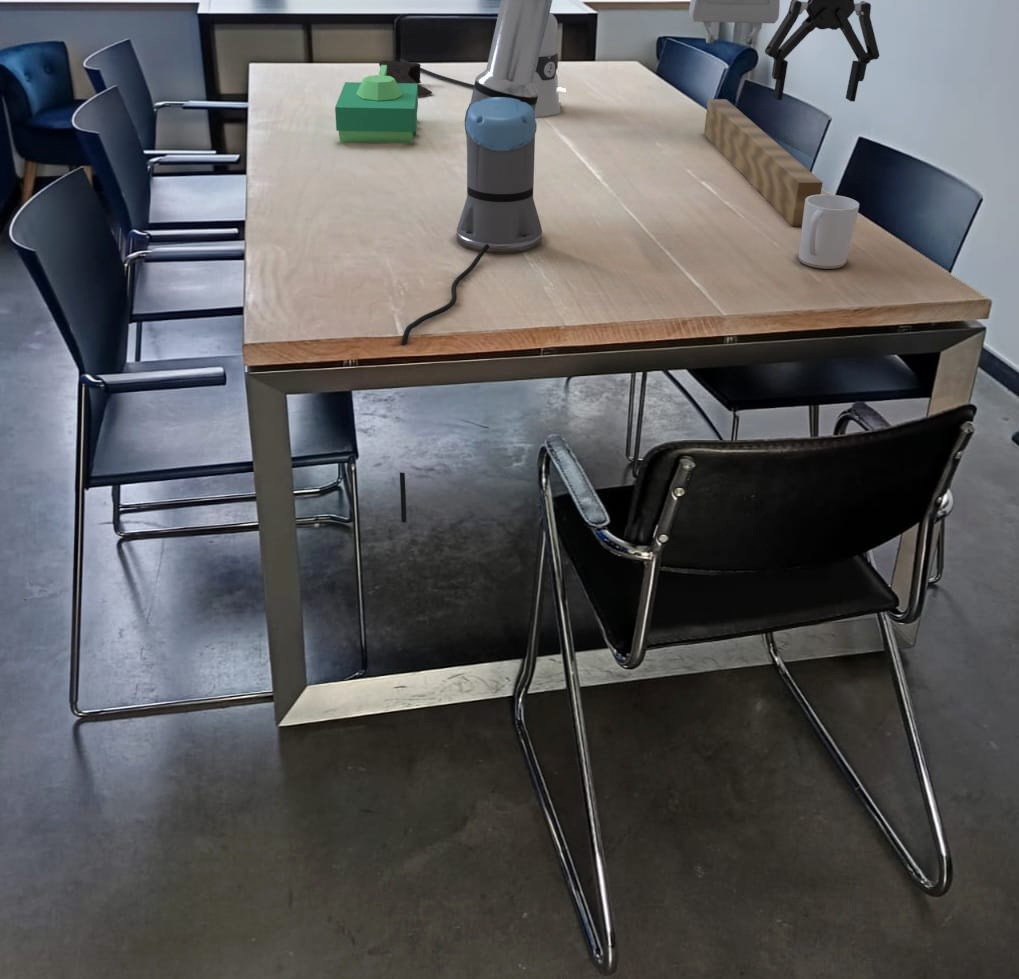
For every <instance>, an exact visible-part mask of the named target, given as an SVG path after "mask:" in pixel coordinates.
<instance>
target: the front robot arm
mask: <svg viewBox="0 0 1019 979" xmlns="http://www.w3.org/2000/svg"><path fill="white" fill-rule="evenodd" d="M552 3H553V0H501V1H500V4H499V8H498V14H497V19H496V23H495V27H494V32H493V37H492V41H491V46H490V50H489V55H488V60H487V64H486V69H485V70H484V71H483V72H481V73H479V74H478V75H476V76H475V79H474V80H475V81H474V84H473V85H474V88H472V94H471V99H470V102H469V104H468V107H467V108H466V111H465V116H464V131H465V136H466V192H467V193H466V198H465V202H464V205H463V209H462V211H461V214H460V218H459V220H458V224H457V227H456V241H457V243H458V244H459V245H461V246H462V247H464V248H466V249H468V250H470V251H475V252H478V253H477V255H476V256H475V258H474V259H473V261H472V262H471V264H469V266H468V267H467V268H466V269H465V270H464V271H463V272H461V273H460V274H459V275H458V276H457V277H456V278H455V279H454V281H453V282H452V284H451V289H450V291H451V299H450V301H449V302H447V303H446V304H445V305H443V306H441V307H439V308H438V309H434V310H433V311H430V312H428V313H425V314H424V315H422V316H420V317H418V318H417V319H415V320H414V321H413V322H411V323H409V324H408V325H407V326H406V327H405V329H404V330H403V331H404V332H403V335H402V337H401V342H400V345H401V346H406V345H407V343H408V339H409V336H410V334H411V331H412V330H413V329H414V328H417V327H418V326H419V325H421V324H423V323H424V322H425V321H427V320H429V319H432V318H434V317H436V316H439V315H441V314H443V313H445V312H447V311H448V310H450V309H451V308H452V307H453V306H454V305H455V303H456V302H457V299H458V298H457V295H458V294H457V287H458V285H459V283H460V282H461V281H462V280H464V278H465V277H467V276H468V275H469V274H470V273H471V272H472V271H473V270H474V268H476V266H477V265H478V263H479V262H480V260H481V259H482V257H483V256H484V255H485V253H486V254H497V255H499V254H500V255H506V254H507V255H508V254H517V253H524V252H527V251H530V250H533V249H536V248H538V247H539V246H540V245H541V244H542V243H543V229H542V224H541V221H540V220H541V219H540V218H539V214H538V213H539V212H538V210H537V206H536V204H535V199H534V183H535V181H534V180H535V148H536V147H535V146H536V133H537V128H538V127H537V121H536V117H535V108H536V103H537V99H538V95H539V92H538V91H537V89H536V87H535V85H534V83H533V79H534V75H535V71H536V67H537V63H538V59H539V54H540V50H541V46H542V42H543V38H544V33H545V29H546V25H547V21H548V17H549V13H551V9H552ZM871 9H872V5H871V3H870V2H867V1H864V0H861V1H860V2H857V3H855V0H807V1H801V0H791V1H790V4H789V7H788V10H787V13H786V15H785V16H784V18H783V20H782V21H781V23H780V24H779V26H778V28H777V29H776V31H775V32H774V34H773V36H772V38H771V39H770V41H769V42H768V44H767V45H766V47H765V49H764V54H766V55H767V56H768V57H771V59H773V65H772V71H771V78H772V79H773V80H775V84H774V90H773V98H775V100H776V101H782V100H783V95H784V88H785V83H786V77H787V70H788V65H789V62H788V60H786V58H787V57H788V56H789V55H790V54H791V53H792V51H793V50H794V49H796V47H798V45H799V44H800V43H802V41H803V40H804V39H805V38H806V37H807V36H808V35H809V34H810V33H811V32H813V31H814V30H815V29H816V28H817V29H818V30H827V29H830V30H832V31H833V30H834V31H837V30H838V29H840V31H841V33H842V34H843V35H844V37H845V39H846V41H847V43H848V45H849V46H850V48H851V50H852V52H853V53H854V55H855V57H856V59H857V60H852V62H851V67H850V73H849V78H848V83H847V89H846V95H845V99H846V100H848V101H849V102H854V103H855V102H856V97H857V92H858V88H859V83H860V82H863V81H864V80H865V76H866V70H867V66H868V64H870V63H871V61H873V60H879V58H880V51H879V48H878V43H877V40H876V39H877V38H876V35H875V31H874V26H873V23H872V19H871ZM804 11H806V13H807V15H808V16H807V17H806V18H805V19H804V20H803V21H802V22H801V24H800V26H799V27H798V28H797V29H795V31H794V32H793V33H792V34H791V35H790V36H789V37H788V35H789V32H791V30H792V28H793V26H794V25H795V23H796V22H797V20H798V18H799V16H800V15H802V14H803V13H804ZM853 13H855V15H856V16H858V21H859V25H860V30H861V33H862V37H863V42H864V45H865V48H864V47H863V45H862V43H861V41H860V40H859V38H858V36H857V34H856V32H855V31H854V29H853V26H852V24H851V22H850V20H849V18H850V17H851V15H853ZM786 37H788V38H787V39H786ZM783 42H784V43H783ZM865 49H866V50H865ZM399 490H400V518H401V519H400V521H401V523H403V524H404V523H407V496H406V495H407V494H406V493H407V492H406V473H405V472H401V471H399Z"/></svg>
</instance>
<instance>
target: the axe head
mask: <svg viewBox="0 0 1019 979" xmlns="http://www.w3.org/2000/svg"><path fill="white" fill-rule="evenodd" d="M381 65H387V73H386V76H391V77H392V78H394V79H395V81H396V82H397V83H416V84H418V98H419V97H425V96H429V95H432V94H433V91H431V90H430V89H428V88H427V87H425V86H422V85H421V84H422V82H421V71H420V68H421V63H419V62H410V61H408V62H401V61H400V60H399V61H397V60H388V59H387V60H380V61H379V62H378V66H379V69H380V68H381Z"/></svg>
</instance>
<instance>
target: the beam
mask: <svg viewBox="0 0 1019 979" xmlns="http://www.w3.org/2000/svg"><path fill="white" fill-rule="evenodd" d="M706 104H707V106H706V114H705V122H704V131H703V135H704V136H705V137H706V138H707V140H708V141H710V143H712V144H713V146H714V147H715V148H716V149H717V150H718V151H719V152H720V153H721V154H722V155H723V156H724V157H725V158H726V159H727V160H728V162H730V164H731V165H732V166H734V167H735V169H736V170H737V171H738V172H739V173H740V174H741V175H742V177H744V179H746V180H747V181H748V182H749V183H750V184H751V185H752V186H753V187H754V188H755V189H756V191H758V193H759V194H760V195H761V196H762V197H763V198H764V199H765V200H766V201H767V202H768V203H769V204H770V205H771V206H772V207H773V208H774V210H776V212H778V213H779V215H780V216H781V217H783V219H784V220H785V221H786V222H787V223H788V224H789V225H790V226H791V227H802V222H803V214H804V205H805V199H806V198H807V197H809V196H812V195H820V194H822V189H823V182H822V180H820V179H819V178H818V177H817V176H816V175H815V174H813V173H812V172H811V171H810V170H809V169H808V168H807V167H805V166H804V165H803V164H802V163H801V162H800V161H799V160H797V159H796V158H795V157H794V156H792V154H790V153H789V152H788V151H787V150H786V149H785V148H783V147H782V146H781V145H780V144H779V143H778V142H776V141H775V139H773V138H772V137H771V136H769V134H768V133H766V132H764V131H763V129H761V128H760V126H758V125H757V124H756V123H754V122H753V121H752V120H751V119H750V118H749V117H747V116H746V115H745V114H744V113H743V112H742V111H740V109H738V107H736V106H735V105H734V104H732V102H730V101H729V100H728V99H726V98H725V99H724V98H723V99H722V98H717V99H716V98H714V99H713V98H707V103H706Z"/></svg>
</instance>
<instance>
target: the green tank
mask: <svg viewBox="0 0 1019 979" xmlns="http://www.w3.org/2000/svg"><path fill="white" fill-rule="evenodd" d="M386 73H387V65H381V68H380V67H379V72H378V74H376V75H375V74H374V75H368V76H366V77H363V78H362V80H361V82H358V81H355V82H354V81H353V82H352V81H345V82H344V84H343V86H342V88H341V92H340V93H339V96H338V99H337V101H336V104H335V107H334V112H335V128H336V129H335V130H336V131H337V132H338V137H339V142H340V143H341V144H413V142H414V139H413V138H414V137H417V129H418V108H419V97H418V84H416V83H397V82H396V81H395V79H394V78H392V77H391V76H386Z"/></svg>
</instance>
